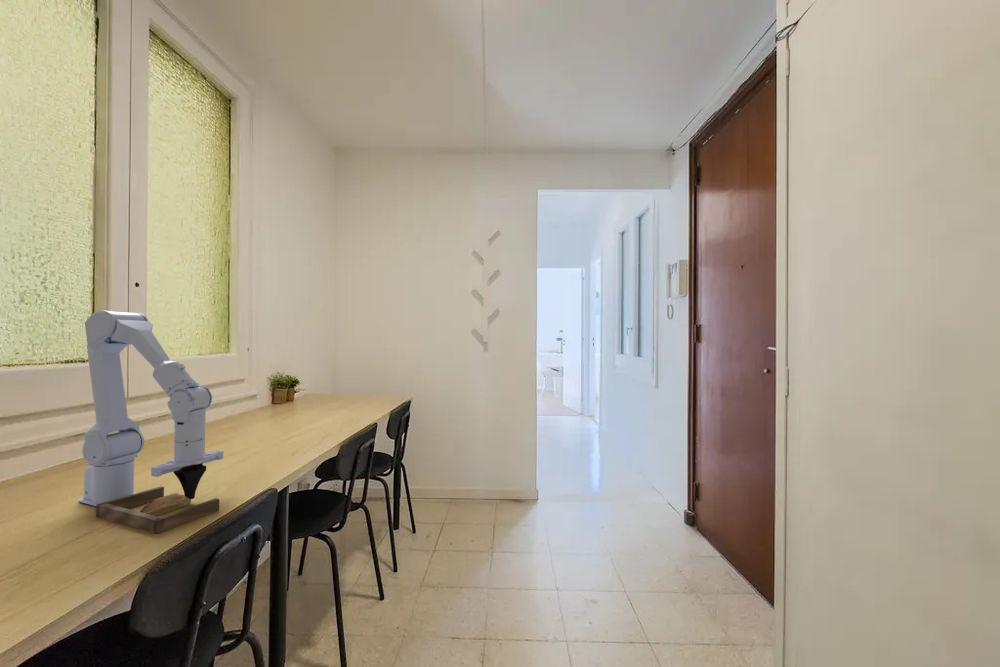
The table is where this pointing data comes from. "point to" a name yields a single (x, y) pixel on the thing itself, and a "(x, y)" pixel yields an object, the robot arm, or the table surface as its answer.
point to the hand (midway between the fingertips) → (189, 498)
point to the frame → (121, 514)
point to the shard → (165, 504)
